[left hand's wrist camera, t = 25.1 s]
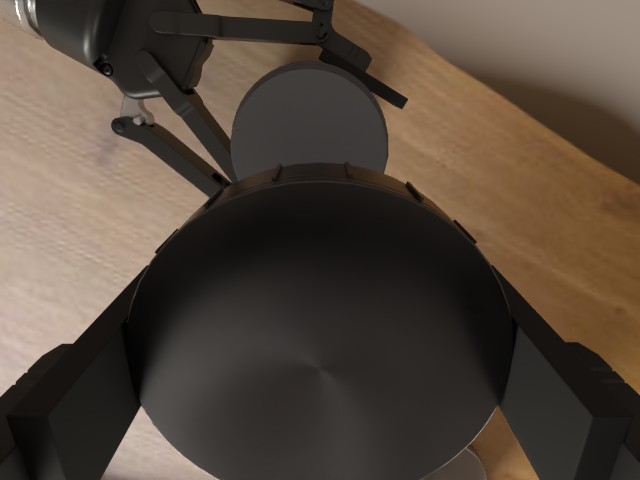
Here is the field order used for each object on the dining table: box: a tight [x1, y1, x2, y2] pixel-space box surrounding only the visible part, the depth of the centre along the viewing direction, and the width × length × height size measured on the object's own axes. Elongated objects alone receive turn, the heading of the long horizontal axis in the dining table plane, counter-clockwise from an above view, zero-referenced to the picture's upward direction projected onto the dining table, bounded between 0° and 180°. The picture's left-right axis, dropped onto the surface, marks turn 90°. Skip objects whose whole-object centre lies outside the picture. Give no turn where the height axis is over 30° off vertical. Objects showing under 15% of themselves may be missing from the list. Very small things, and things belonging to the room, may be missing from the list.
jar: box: [230, 62, 388, 181], centre depth 29 cm, size 9×9×16 cm
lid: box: [126, 162, 513, 480], centre depth 12 cm, size 10×10×2 cm
